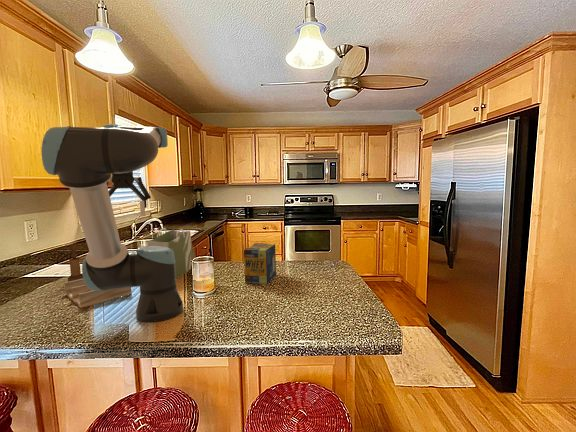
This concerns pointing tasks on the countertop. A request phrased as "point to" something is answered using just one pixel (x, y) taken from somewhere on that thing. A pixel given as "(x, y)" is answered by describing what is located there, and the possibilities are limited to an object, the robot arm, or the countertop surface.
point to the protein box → (259, 263)
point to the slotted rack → (91, 293)
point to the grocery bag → (177, 248)
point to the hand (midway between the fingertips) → (126, 217)
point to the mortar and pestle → (74, 265)
